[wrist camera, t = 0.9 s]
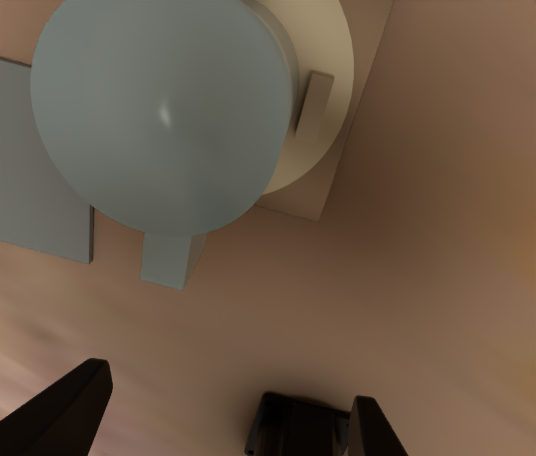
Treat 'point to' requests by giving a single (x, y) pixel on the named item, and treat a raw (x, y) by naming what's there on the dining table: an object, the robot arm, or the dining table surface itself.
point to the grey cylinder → (165, 115)
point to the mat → (35, 180)
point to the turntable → (314, 83)
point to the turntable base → (322, 174)
